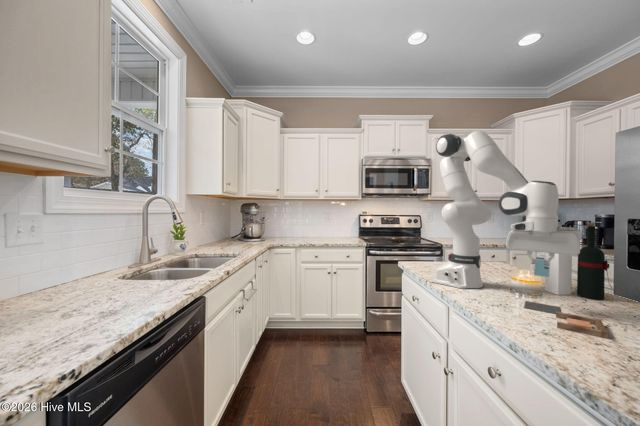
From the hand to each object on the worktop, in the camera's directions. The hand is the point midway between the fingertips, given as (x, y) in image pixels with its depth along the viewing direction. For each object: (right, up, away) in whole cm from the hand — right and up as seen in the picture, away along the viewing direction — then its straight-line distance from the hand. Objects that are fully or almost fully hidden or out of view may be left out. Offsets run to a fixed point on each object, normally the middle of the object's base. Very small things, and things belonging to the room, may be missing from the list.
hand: (540, 264), depth 96 cm
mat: (+1, -16, 0) cm, 16 cm away
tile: (-1, -16, -16) cm, 23 cm away
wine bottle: (+32, -16, +12) cm, 38 cm away
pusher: (0, -3, 0) cm, 3 cm away
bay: (-2, -16, -15) cm, 22 cm away
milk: (+23, -16, +19) cm, 34 cm away
